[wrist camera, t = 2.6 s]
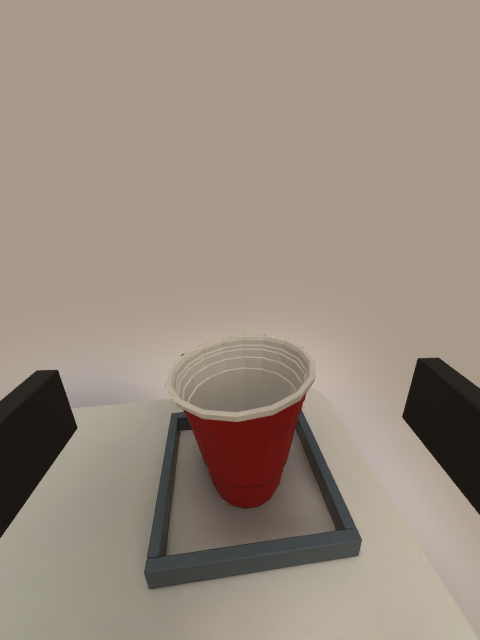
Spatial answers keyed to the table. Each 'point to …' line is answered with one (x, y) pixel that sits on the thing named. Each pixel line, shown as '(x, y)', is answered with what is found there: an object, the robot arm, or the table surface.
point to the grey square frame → (254, 554)
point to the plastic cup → (243, 409)
